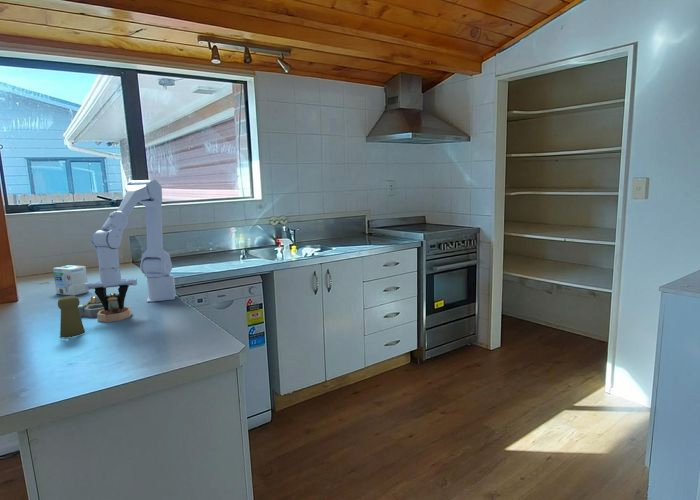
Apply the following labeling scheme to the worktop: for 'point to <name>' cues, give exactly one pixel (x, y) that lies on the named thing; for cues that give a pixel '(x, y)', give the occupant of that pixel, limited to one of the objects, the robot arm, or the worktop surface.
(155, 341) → the worktop surface
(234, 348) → the worktop surface
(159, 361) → the worktop surface
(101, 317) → the cup
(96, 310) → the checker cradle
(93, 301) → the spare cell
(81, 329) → the cork
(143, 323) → the worktop surface
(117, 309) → the cell
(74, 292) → the light bulb box
